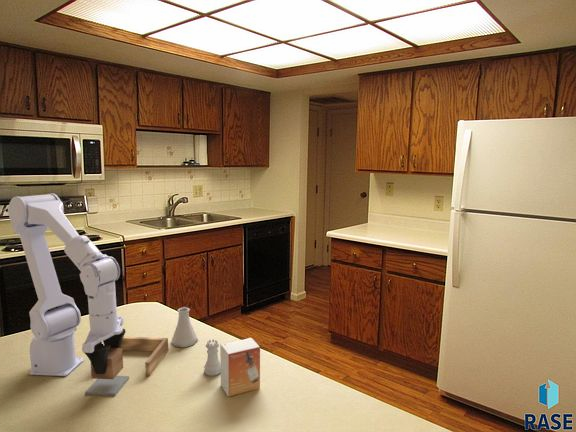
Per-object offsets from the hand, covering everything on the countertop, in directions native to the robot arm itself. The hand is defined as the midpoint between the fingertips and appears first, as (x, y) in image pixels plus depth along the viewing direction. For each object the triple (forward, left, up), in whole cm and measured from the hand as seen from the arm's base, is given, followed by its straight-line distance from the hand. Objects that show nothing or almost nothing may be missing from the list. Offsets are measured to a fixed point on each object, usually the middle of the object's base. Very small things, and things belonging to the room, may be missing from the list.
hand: (106, 366), depth 93 cm
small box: (+31, +2, -5) cm, 32 cm away
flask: (+11, +23, -5) cm, 26 cm away
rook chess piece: (+23, +8, -5) cm, 25 cm away
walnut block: (0, 0, -2) cm, 2 cm away
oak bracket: (+1, +11, -5) cm, 12 cm away
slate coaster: (0, 0, -5) cm, 5 cm away
